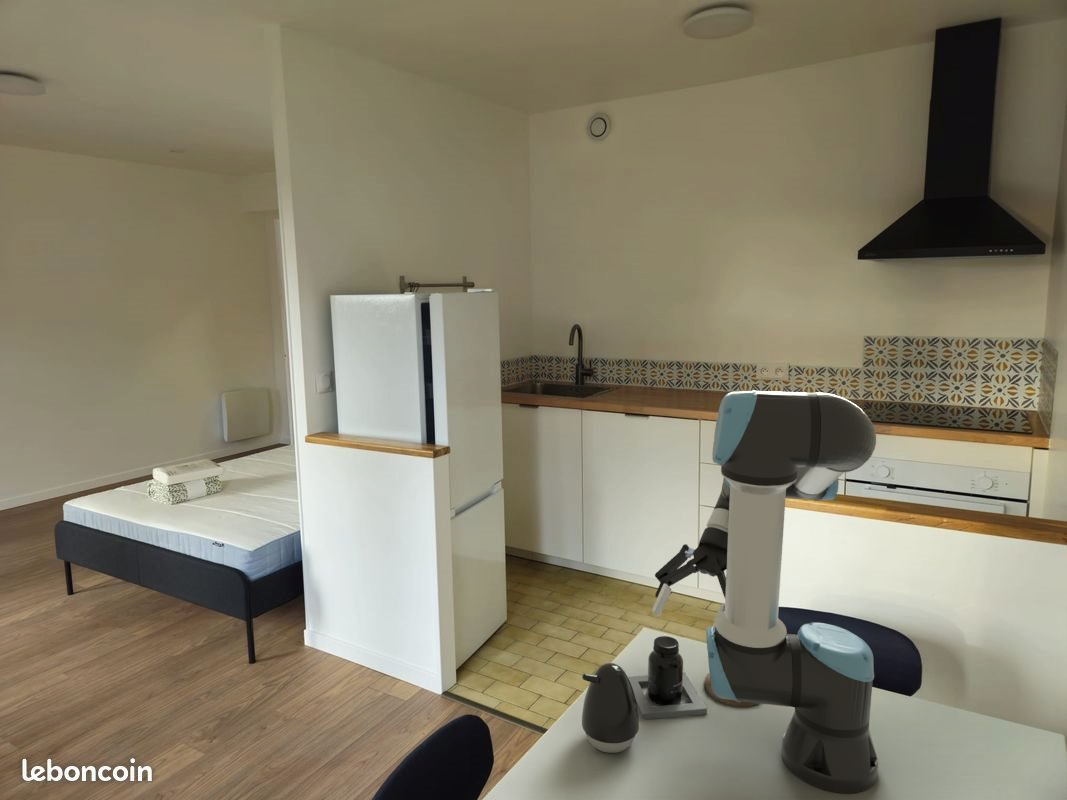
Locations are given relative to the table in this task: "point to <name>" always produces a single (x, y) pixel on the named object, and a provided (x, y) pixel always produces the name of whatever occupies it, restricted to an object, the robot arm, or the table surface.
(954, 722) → the table surface
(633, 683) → the grey flat square frame
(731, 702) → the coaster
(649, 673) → the supplement bottle
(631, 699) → the pump dispenser
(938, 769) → the table surface
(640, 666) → the table surface
